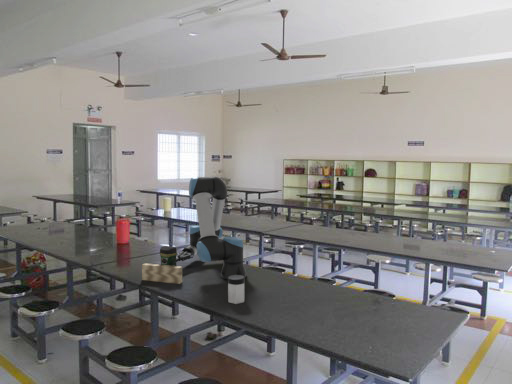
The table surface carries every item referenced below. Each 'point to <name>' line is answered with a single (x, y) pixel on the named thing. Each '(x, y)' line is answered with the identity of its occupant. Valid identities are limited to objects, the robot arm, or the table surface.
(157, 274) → the wooden block
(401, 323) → the table surface
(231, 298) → the jar
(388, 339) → the table surface
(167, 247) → the coffee jar
